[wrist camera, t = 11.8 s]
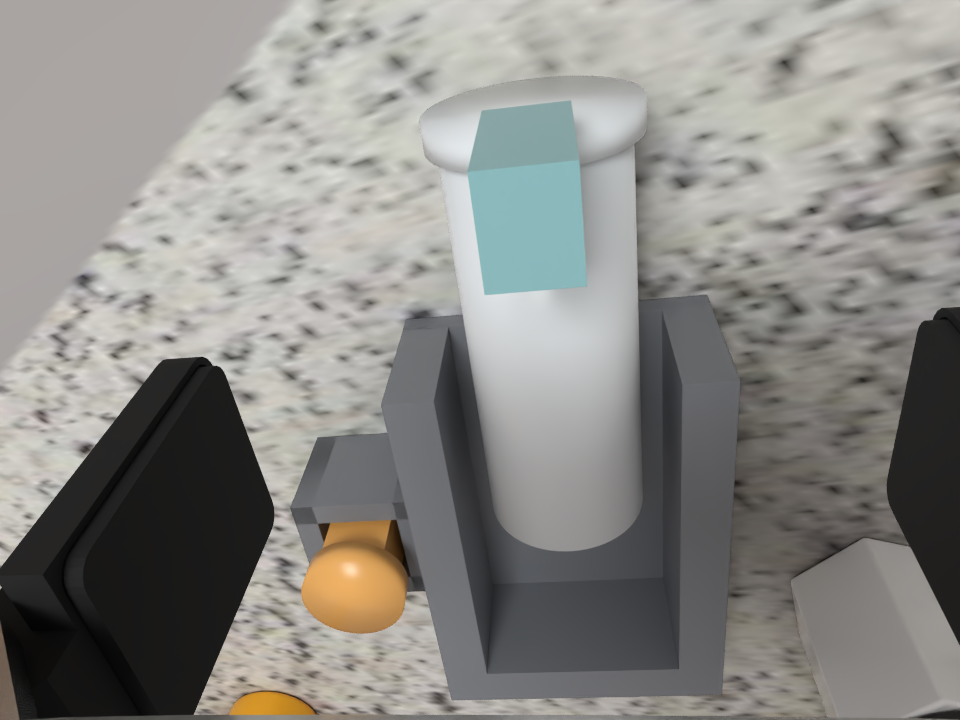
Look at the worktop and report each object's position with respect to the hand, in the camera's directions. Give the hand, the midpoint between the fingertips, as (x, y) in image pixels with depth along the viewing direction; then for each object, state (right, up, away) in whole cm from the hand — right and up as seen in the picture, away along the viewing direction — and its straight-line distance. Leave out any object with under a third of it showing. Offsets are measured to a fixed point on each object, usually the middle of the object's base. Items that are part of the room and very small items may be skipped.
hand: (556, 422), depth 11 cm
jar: (+20, -12, +31) cm, 39 cm away
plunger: (-6, -6, +28) cm, 29 cm away
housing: (0, -5, +28) cm, 28 cm away
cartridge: (+2, +4, +21) cm, 22 cm away
